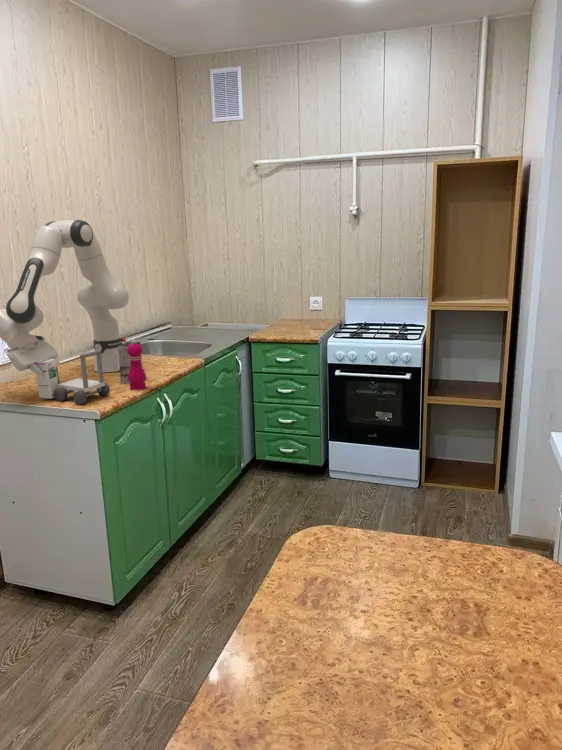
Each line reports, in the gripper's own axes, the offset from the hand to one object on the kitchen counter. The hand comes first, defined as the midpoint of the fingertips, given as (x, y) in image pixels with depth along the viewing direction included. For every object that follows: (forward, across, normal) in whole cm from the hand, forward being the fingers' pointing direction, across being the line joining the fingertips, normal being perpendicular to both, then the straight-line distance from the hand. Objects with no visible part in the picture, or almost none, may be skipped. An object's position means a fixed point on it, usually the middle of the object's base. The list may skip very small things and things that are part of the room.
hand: (48, 372), depth 222 cm
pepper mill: (+25, +22, -10) cm, 35 cm away
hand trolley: (+16, +4, 0) cm, 16 cm away
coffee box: (+19, +32, -4) cm, 37 cm away
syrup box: (+7, 0, +7) cm, 10 cm away
